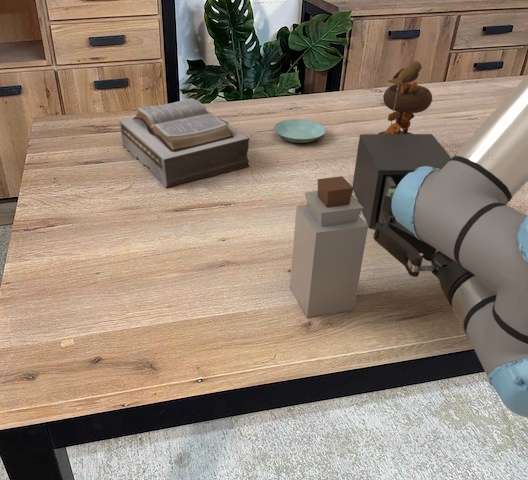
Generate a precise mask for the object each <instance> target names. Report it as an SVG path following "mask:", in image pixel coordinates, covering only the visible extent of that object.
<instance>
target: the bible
mask: <svg viewBox="0 0 528 480" xmlns="http://www.w3.org/2000/svg"><path fill="white" fill-rule="evenodd" d="M118 122H119V127H120V135H121V140H122V141H121V142H122V147H124V149H125V150H126V151H128V152H130V154H131V156H132V157H134V158H135V159H136V160H137V159H138V160H139V162H140V163H141V165H144V166H145V167H146V168H149V170H150V171H151V173H153V176H154V177H155V178H156V179H157V180H158V181H159V182H160V183H161V184H162V185H163V186H164V188H165V189H167V188H169V187H174V186H178V185H180V184H181V185H182V184H184V183H185V184H187V183H192V182H193V181H196V180H200V179H205V178H212V177H216V176H218V174H224V173H230V172H232V171H237V170H239V169H243V168H248V167H250V165H249V163H250V161H249V158H248V152H249V146H250V144H249V141H250V137H248V136H247V134H245V133H244V132H241V131H240V130H239V129H237V128H235V127H234V126H232V125H231V124H230V123H229V122H228V121H226V120H224V119H221V118H220V117H218V116H217V115H215V114H214V113H212V112H210V111H208V110H207V108H206V106H205V105H204V104H203V103H202V102H201V101H199V100H196V99H195V98H192V97H189V98H186V99H183V100H179V101H174V102H170V103H164V104H159V105H151V106H141V107H137V108H136V112H135V116H131V117H128V118H122V119H119V120H118Z"/></svg>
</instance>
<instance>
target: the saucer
mask: <svg viewBox="0 0 528 480" xmlns="http://www.w3.org/2000/svg"><path fill="white" fill-rule="evenodd" d="M272 129H273V131H274V132H275V134H276V135H277V136H278V137H280V138H281V139H282V140H285V141H287V142H290V143H293V144H306V143H311V142H314V141H316V140H317V139H319V138H321V137H322V136H323V135H325V133H326V132H327V130H326V128H325V126H324V125H323V124H321V123H319V122H316V121H314V120H308V119H300V118H299V119H297V118H294V119H285V120H281V121H278V122H276V123H274V125H273V127H272Z"/></svg>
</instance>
